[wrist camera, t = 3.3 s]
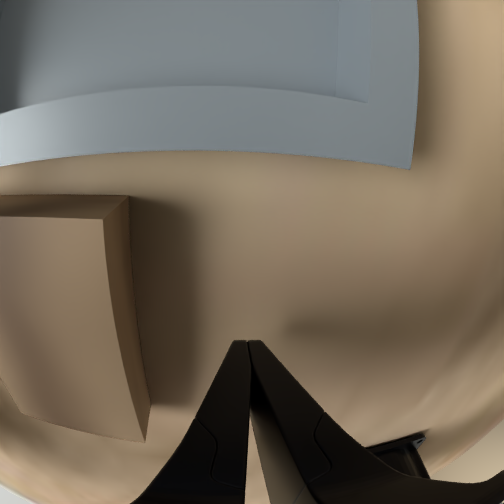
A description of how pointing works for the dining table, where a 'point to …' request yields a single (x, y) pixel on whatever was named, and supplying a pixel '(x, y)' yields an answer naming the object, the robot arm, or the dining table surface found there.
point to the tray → (209, 78)
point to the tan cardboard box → (71, 314)
